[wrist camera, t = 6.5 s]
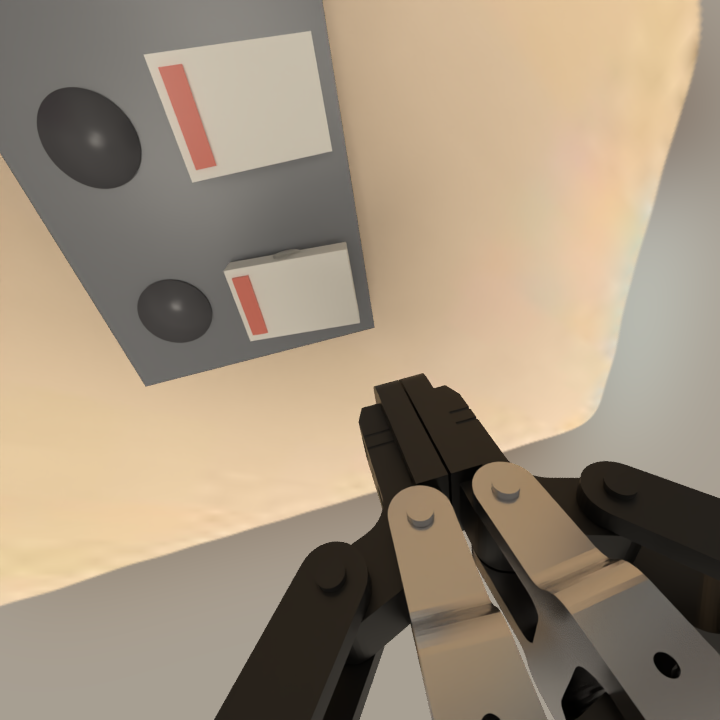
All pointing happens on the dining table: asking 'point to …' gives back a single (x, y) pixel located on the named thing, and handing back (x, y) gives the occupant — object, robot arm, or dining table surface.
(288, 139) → the rocker
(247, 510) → the dining table surface
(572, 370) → the dining table surface
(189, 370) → the grey control panel
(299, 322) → the rocker
